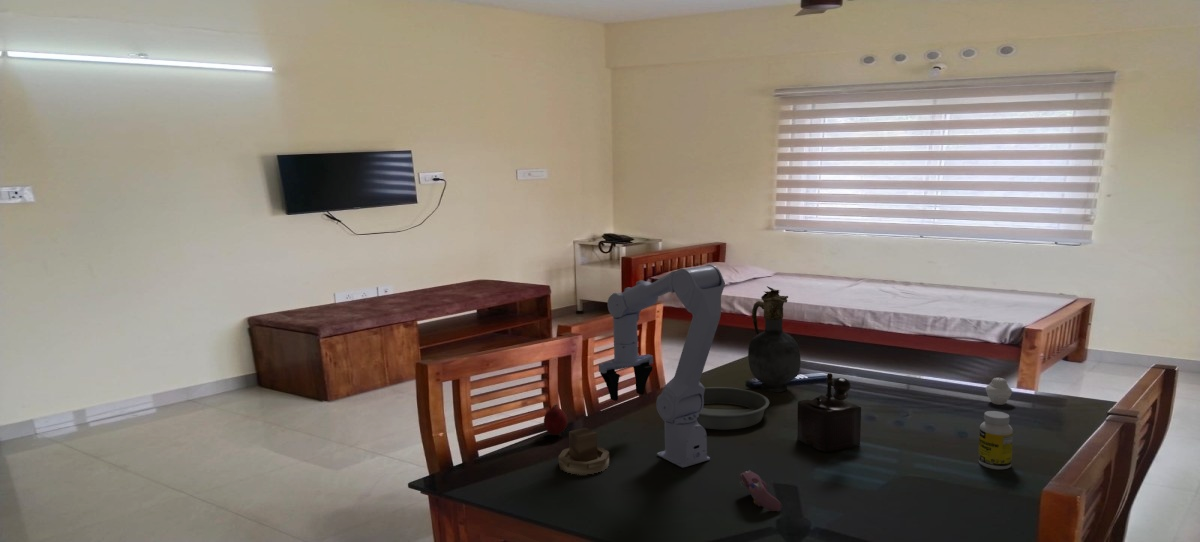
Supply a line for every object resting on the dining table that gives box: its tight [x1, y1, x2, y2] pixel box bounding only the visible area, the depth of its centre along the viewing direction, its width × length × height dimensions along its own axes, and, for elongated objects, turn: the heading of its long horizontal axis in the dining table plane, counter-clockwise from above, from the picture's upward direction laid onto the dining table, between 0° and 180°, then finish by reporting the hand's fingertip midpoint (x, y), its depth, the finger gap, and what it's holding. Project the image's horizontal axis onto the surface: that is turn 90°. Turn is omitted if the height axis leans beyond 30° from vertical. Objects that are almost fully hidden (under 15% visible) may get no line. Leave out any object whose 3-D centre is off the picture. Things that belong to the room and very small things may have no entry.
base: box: [557, 445, 610, 476], centre depth 163 cm, size 11×11×2 cm
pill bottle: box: [978, 410, 1014, 471], centre depth 156 cm, size 6×6×11 cm
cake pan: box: [697, 386, 770, 430], centre depth 193 cm, size 25×25×4 cm
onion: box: [543, 403, 568, 437], centre depth 182 cm, size 6×6×8 cm
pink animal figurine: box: [739, 469, 782, 512], centre depth 142 cm, size 10×5×7 cm, turn 5°
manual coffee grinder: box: [796, 372, 862, 453], centre depth 169 cm, size 16×11×18 cm
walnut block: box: [568, 426, 598, 462], centre depth 163 cm, size 4×4×6 cm
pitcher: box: [747, 286, 802, 393], centre depth 215 cm, size 11×19×30 cm, turn 19°
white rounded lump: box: [985, 377, 1013, 406], centre depth 196 cm, size 6×6×7 cm
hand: (627, 396), depth 179 cm, fingers open, 7 cm apart
